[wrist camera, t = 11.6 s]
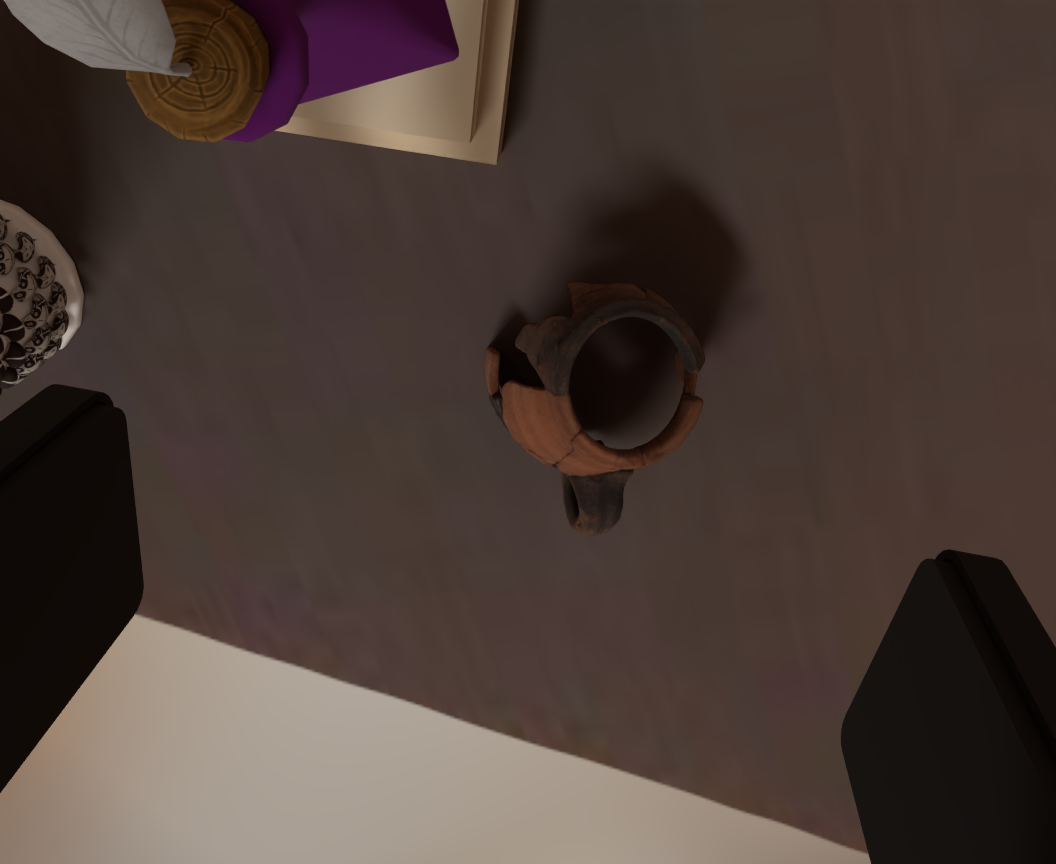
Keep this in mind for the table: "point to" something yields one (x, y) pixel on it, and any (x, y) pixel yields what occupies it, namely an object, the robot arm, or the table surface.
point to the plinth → (432, 95)
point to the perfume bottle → (242, 53)
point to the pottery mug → (548, 412)
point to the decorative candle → (33, 295)
